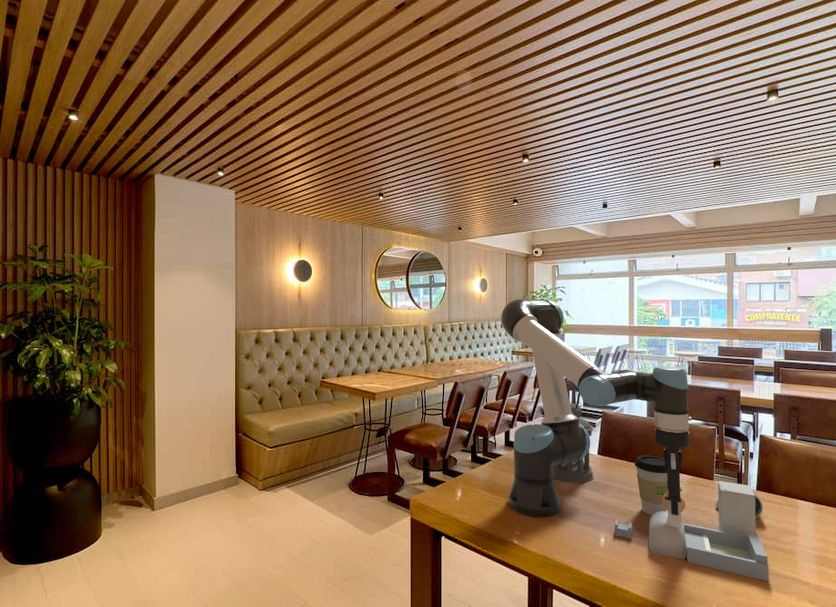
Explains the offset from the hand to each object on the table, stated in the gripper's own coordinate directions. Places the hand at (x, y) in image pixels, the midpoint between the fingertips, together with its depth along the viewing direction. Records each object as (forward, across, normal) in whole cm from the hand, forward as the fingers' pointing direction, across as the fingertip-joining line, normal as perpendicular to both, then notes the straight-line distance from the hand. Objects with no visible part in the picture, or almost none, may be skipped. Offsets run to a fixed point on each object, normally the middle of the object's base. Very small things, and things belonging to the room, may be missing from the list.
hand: (674, 521), depth 106 cm
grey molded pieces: (+8, 0, -2) cm, 8 cm away
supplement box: (+7, +14, -14) cm, 21 cm away
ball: (-5, 0, 0) cm, 5 cm away
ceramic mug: (+7, +30, -17) cm, 35 cm away
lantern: (+6, +37, +32) cm, 49 cm away
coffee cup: (+6, +19, +5) cm, 20 cm away
